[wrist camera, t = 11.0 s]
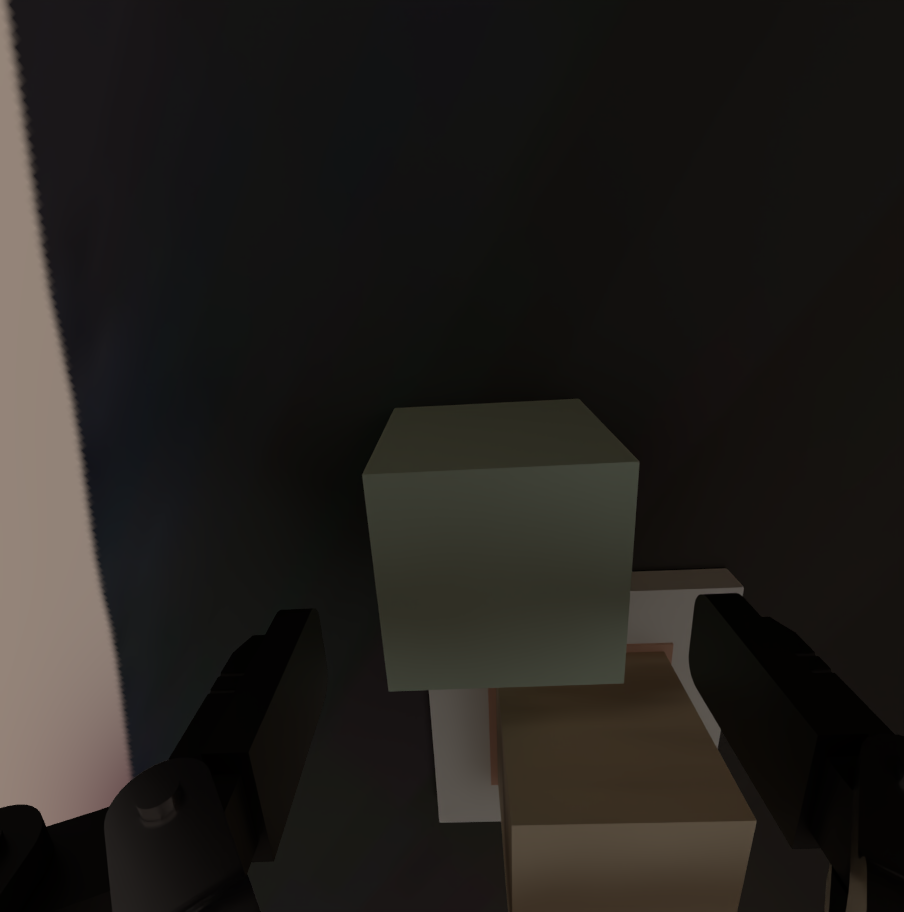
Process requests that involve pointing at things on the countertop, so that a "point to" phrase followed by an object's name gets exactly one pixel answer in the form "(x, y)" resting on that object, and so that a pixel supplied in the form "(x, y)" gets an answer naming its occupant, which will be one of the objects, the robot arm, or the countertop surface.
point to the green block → (501, 545)
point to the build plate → (474, 710)
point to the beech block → (617, 798)
